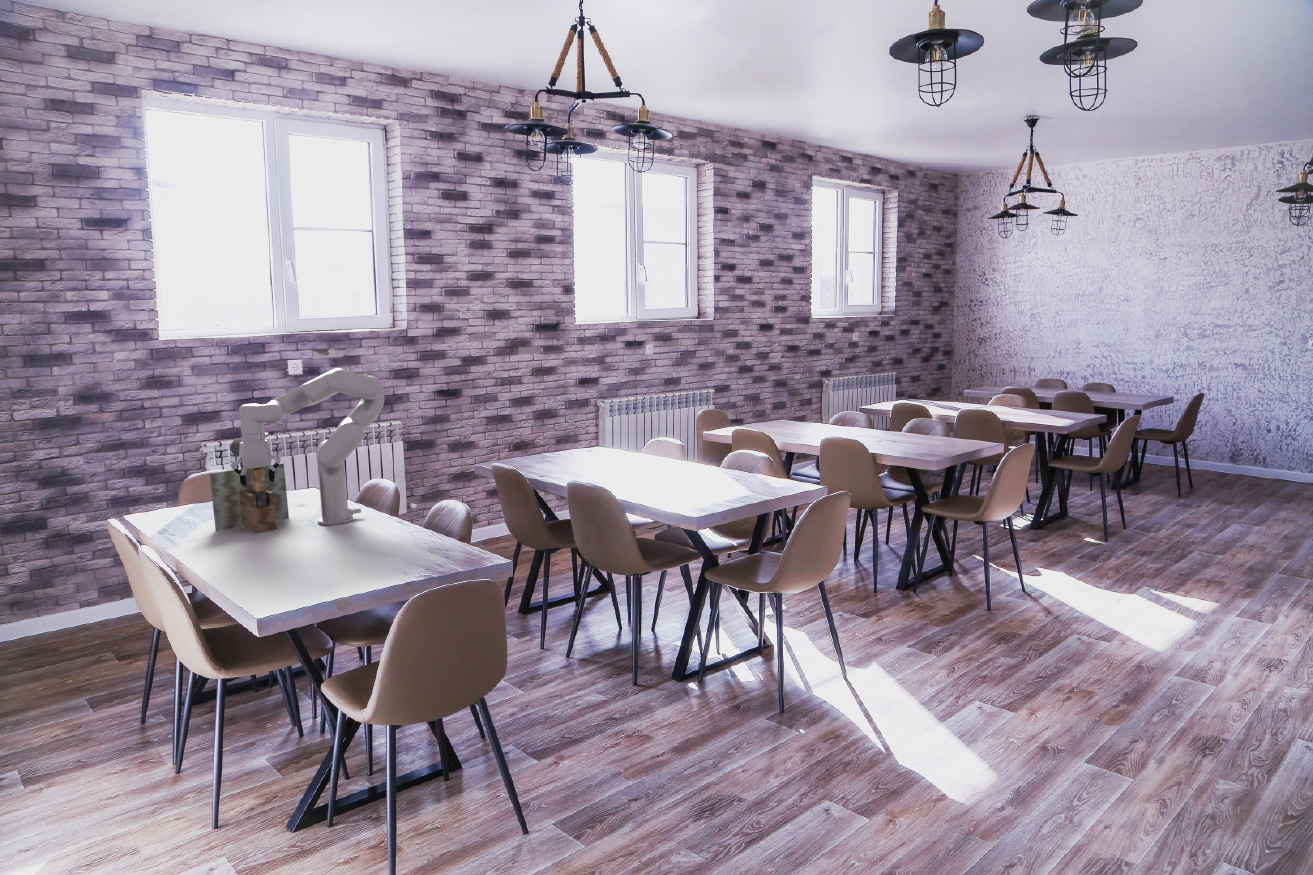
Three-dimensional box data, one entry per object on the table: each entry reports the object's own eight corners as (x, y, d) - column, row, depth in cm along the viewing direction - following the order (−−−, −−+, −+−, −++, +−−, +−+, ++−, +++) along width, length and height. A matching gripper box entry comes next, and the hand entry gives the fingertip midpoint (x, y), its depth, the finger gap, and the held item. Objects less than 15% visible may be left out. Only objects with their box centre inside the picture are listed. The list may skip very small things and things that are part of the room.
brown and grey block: (262, 504, 318) (259, 467, 316) (267, 506, 314) (263, 468, 312) (253, 505, 316) (250, 468, 314) (258, 507, 312) (254, 470, 310)
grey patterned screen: (287, 517, 334) (281, 462, 330) (301, 524, 322) (296, 467, 319) (215, 530, 317) (209, 472, 313) (228, 538, 305) (222, 478, 301)
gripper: (274, 433, 320) (278, 478, 322) (225, 439, 308) (229, 485, 311) (281, 435, 314) (285, 481, 317) (231, 441, 303) (236, 488, 305)
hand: (258, 483), depth 314 cm, fingers open, 9 cm apart
